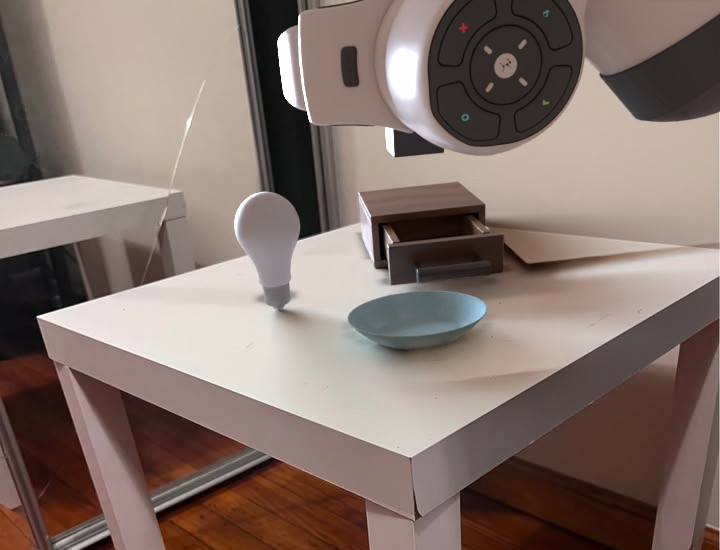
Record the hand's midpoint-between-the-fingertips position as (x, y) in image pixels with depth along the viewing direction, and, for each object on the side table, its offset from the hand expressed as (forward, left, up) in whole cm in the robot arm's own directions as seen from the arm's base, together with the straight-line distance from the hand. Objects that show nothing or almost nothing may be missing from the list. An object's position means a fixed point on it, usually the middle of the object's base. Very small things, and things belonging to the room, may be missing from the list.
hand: (408, 53), depth 60 cm
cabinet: (-4, -25, -21) cm, 33 cm away
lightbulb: (+13, -7, -21) cm, 26 cm away
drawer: (-4, -12, -20) cm, 24 cm away
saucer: (+1, +5, -21) cm, 22 cm away
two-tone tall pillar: (0, +1, -7) cm, 7 cm away
